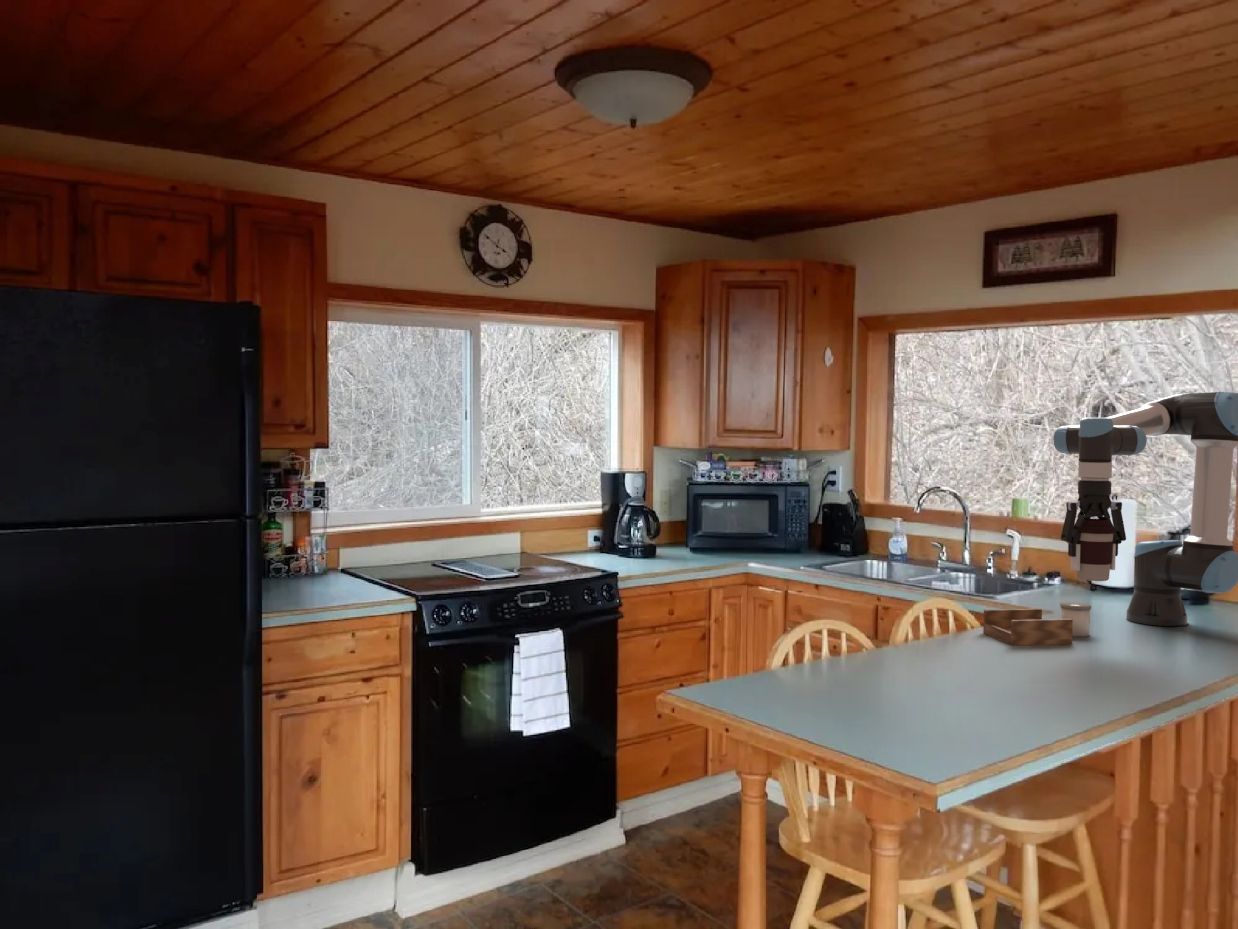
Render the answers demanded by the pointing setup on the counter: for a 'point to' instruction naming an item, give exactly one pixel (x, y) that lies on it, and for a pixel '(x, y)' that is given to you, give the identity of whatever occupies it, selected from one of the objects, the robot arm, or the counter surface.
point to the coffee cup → (1095, 549)
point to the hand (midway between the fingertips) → (1092, 569)
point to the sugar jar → (1077, 617)
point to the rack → (1026, 627)
